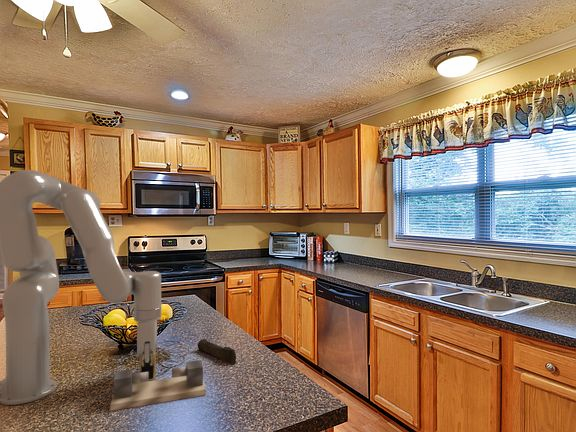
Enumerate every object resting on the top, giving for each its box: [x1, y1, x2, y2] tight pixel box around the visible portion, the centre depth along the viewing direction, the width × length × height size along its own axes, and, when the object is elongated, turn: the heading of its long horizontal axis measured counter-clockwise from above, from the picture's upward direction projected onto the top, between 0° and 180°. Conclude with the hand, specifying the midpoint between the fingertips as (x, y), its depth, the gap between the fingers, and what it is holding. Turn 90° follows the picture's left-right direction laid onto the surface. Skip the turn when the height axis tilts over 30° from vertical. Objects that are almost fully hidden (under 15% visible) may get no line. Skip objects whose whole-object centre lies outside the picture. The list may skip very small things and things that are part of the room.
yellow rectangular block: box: [138, 350, 157, 381], centre depth 104 cm, size 4×4×7 cm
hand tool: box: [197, 339, 237, 365], centre depth 120 cm, size 19×4×5 cm, turn 46°
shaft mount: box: [109, 359, 207, 412], centre depth 95 cm, size 23×10×6 cm, turn 110°
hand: (148, 372), depth 104 cm, fingers open, 7 cm apart
